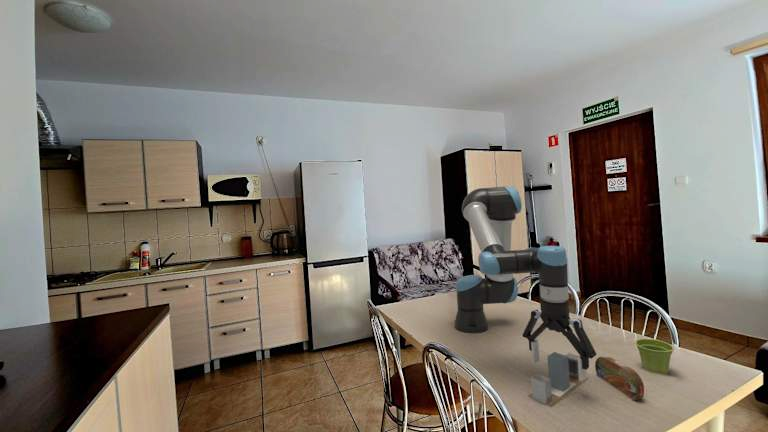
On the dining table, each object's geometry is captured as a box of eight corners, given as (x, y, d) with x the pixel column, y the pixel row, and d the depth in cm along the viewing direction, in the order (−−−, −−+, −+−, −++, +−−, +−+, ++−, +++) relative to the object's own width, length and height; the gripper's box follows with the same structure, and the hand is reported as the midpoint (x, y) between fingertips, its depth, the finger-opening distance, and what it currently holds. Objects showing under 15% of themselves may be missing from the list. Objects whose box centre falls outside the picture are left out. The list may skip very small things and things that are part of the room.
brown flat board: (527, 400, 92) (527, 395, 92) (565, 373, 104) (565, 369, 104) (552, 411, 86) (551, 406, 86) (589, 382, 99) (589, 377, 99)
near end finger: (532, 398, 91) (531, 377, 91) (539, 393, 93) (538, 372, 93) (546, 404, 87) (545, 382, 87) (553, 399, 89) (551, 378, 89)
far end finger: (564, 375, 101) (563, 356, 101) (570, 371, 103) (569, 353, 103) (578, 380, 98) (577, 361, 98) (583, 376, 100) (582, 357, 100)
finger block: (549, 386, 96) (547, 356, 96) (557, 380, 99) (555, 351, 98) (563, 391, 93) (561, 360, 92) (571, 385, 95) (569, 355, 95)
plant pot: (678, 382, 96) (677, 353, 96) (638, 375, 101) (637, 347, 101) (671, 368, 104) (670, 341, 103) (634, 362, 109) (633, 336, 108)
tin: (594, 378, 101) (593, 352, 100) (604, 377, 101) (602, 351, 101) (636, 407, 86) (635, 376, 85) (647, 406, 86) (646, 375, 86)
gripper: (508, 293, 103) (512, 359, 104) (595, 311, 83) (599, 393, 83) (522, 289, 107) (525, 352, 108) (607, 305, 87) (611, 382, 87)
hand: (557, 370), depth 95 cm, fingers open, 13 cm apart
